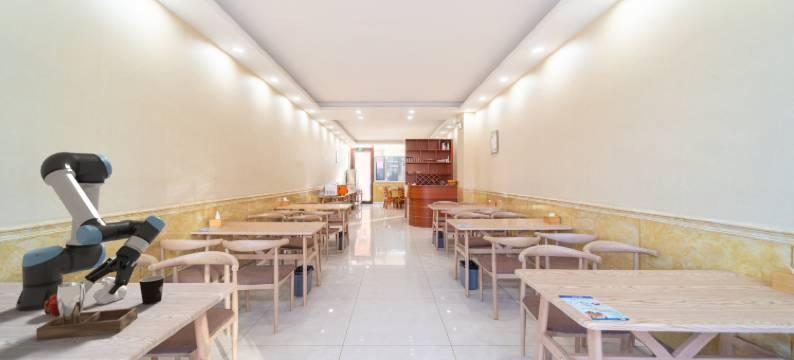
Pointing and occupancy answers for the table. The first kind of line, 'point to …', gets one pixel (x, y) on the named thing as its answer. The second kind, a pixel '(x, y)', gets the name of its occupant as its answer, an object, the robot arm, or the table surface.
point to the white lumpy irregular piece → (107, 282)
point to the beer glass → (71, 302)
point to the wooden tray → (89, 324)
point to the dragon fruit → (51, 306)
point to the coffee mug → (151, 289)
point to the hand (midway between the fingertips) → (88, 300)
